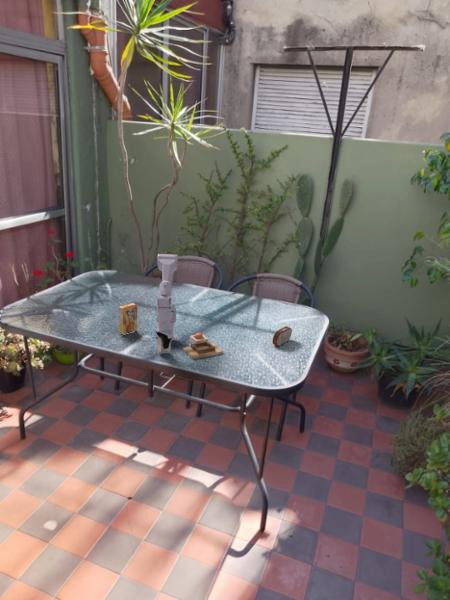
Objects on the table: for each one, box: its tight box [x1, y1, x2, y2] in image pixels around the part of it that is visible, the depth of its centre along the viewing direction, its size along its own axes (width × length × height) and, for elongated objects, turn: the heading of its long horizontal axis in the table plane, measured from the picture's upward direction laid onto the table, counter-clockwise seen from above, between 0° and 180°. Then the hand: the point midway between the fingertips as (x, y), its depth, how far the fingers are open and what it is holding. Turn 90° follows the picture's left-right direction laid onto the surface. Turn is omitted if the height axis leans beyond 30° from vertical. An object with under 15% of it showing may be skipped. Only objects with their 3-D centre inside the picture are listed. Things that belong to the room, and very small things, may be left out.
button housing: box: [189, 334, 209, 344], centre depth 229 cm, size 7×7×3 cm
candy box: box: [118, 302, 138, 334], centre depth 234 cm, size 9×4×15 cm, turn 137°
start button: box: [194, 332, 204, 340], centre depth 229 cm, size 4×4×4 cm
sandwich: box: [272, 325, 293, 347], centre depth 233 cm, size 15×3×8 cm, turn 141°
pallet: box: [182, 340, 224, 361], centre depth 220 cm, size 12×16×3 cm
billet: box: [157, 336, 172, 354], centre depth 214 cm, size 4×5×7 cm
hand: (164, 346), depth 215 cm, fingers closed on billet, 4 cm apart
